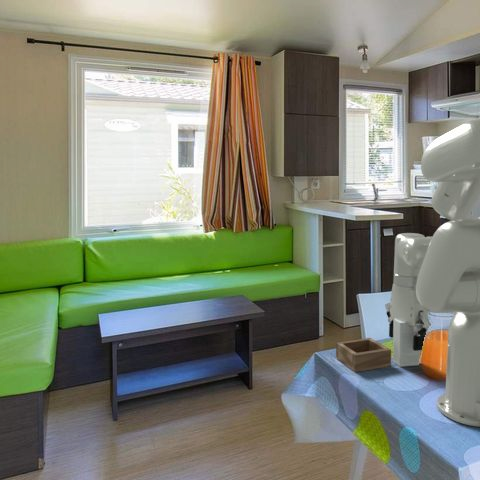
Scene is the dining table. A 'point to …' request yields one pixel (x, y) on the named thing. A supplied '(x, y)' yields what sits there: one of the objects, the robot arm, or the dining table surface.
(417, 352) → the skincare box
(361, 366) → the small open wooden box
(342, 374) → the dining table surface
